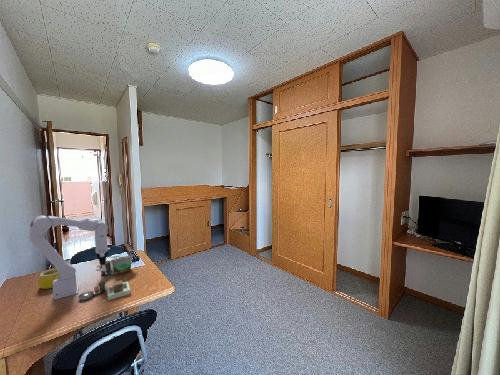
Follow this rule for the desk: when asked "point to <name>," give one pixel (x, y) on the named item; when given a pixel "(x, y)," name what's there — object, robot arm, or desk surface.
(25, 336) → the desk surface
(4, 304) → the desk surface
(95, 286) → the post
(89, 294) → the crank
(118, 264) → the food container
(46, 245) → the robot arm
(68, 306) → the desk surface
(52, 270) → the mug
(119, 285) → the block
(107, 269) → the giant panda
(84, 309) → the desk surface
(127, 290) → the tray
